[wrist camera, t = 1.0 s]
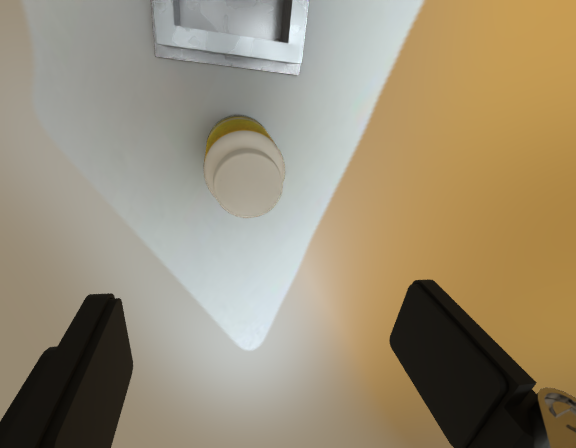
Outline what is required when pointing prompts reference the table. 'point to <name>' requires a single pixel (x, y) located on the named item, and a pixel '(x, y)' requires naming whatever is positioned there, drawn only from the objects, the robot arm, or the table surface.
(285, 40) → the socket
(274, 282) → the table surface
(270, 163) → the pill bottle
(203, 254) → the table surface
